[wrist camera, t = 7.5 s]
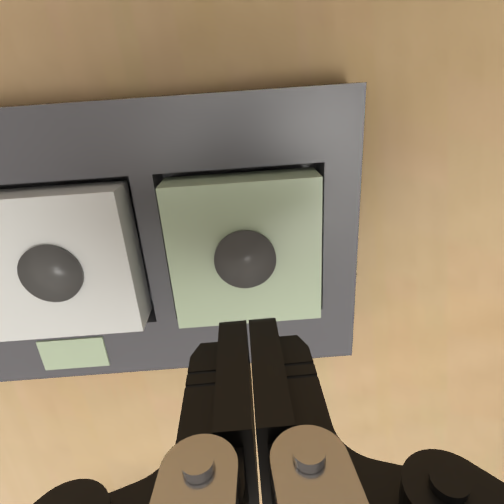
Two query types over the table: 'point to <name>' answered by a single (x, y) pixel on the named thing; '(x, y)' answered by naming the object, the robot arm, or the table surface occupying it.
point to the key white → (70, 262)
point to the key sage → (243, 245)
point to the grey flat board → (190, 164)
